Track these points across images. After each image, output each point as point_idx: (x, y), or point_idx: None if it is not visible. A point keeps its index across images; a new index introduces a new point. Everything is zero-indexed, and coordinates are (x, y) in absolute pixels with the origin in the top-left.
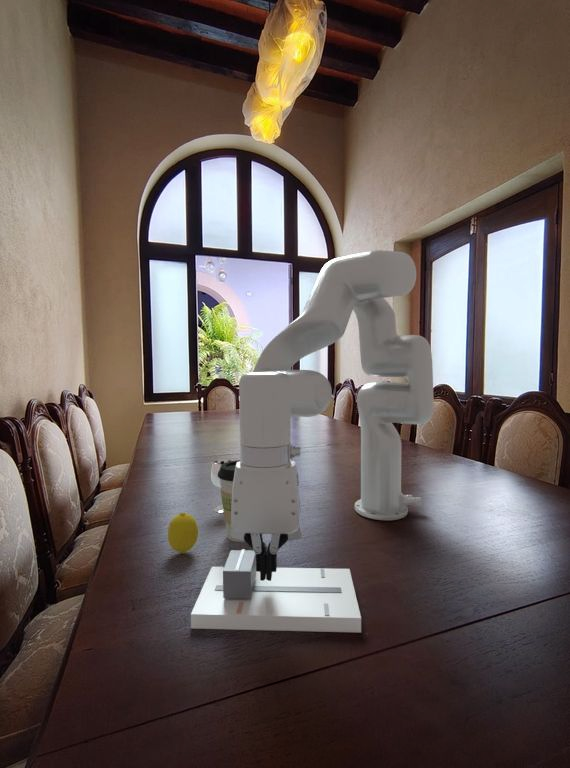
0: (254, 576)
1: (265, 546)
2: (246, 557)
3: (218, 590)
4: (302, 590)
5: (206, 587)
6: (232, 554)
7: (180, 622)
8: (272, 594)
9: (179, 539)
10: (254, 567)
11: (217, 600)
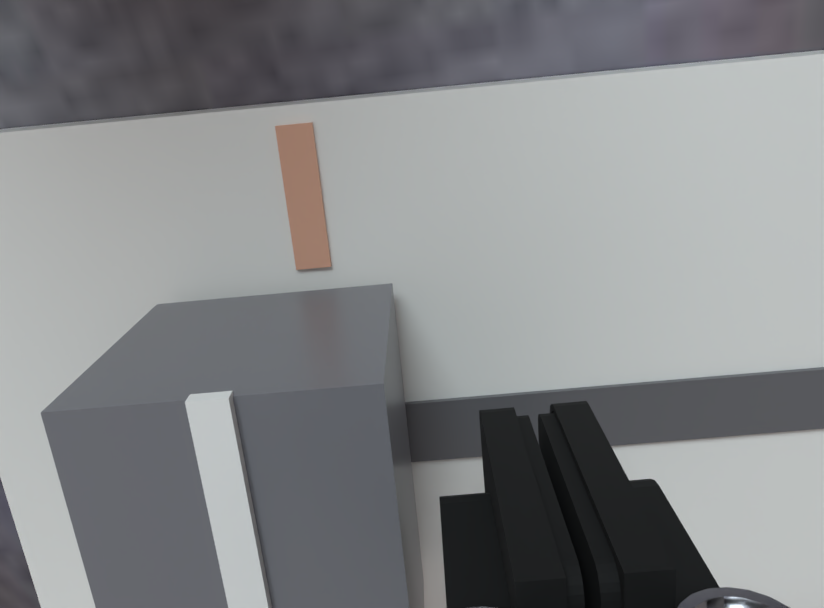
0: (403, 413)
1: (567, 594)
2: (308, 550)
3: None
4: (810, 414)
5: (25, 460)
6: (110, 510)
7: (23, 603)
8: None
9: None
10: (400, 445)
11: None
